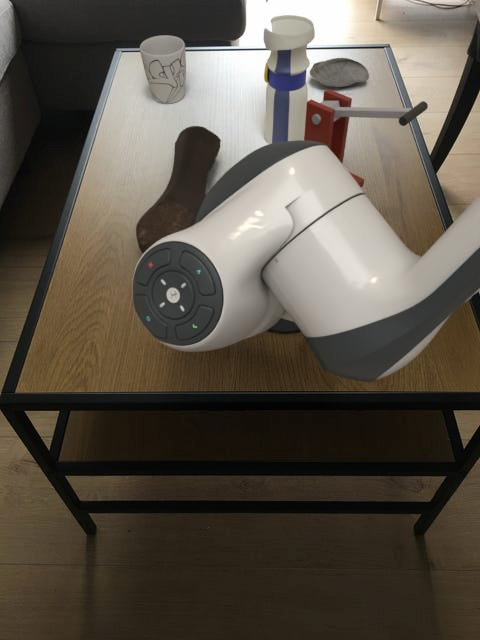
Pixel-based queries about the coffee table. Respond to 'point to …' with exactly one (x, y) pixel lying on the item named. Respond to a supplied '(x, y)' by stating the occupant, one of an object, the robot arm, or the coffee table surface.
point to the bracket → (329, 125)
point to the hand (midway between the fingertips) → (272, 287)
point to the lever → (377, 112)
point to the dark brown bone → (181, 187)
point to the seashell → (339, 72)
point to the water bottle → (287, 77)
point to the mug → (165, 67)
